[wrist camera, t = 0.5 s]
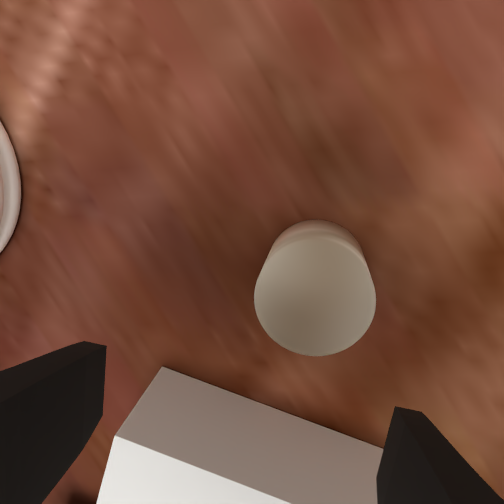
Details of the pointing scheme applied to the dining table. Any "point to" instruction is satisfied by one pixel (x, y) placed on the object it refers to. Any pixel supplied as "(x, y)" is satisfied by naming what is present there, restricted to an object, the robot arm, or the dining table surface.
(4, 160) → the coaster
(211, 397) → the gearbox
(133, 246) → the dining table surface
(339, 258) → the cylinder
